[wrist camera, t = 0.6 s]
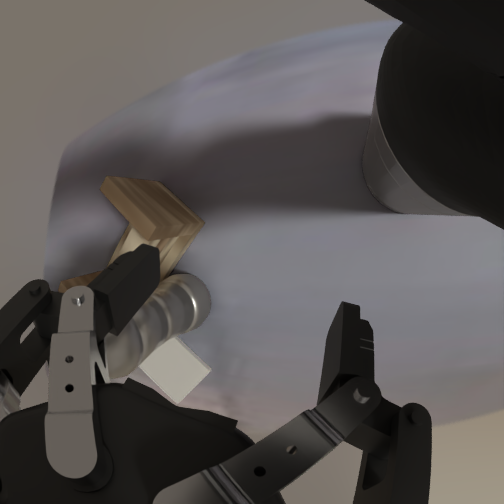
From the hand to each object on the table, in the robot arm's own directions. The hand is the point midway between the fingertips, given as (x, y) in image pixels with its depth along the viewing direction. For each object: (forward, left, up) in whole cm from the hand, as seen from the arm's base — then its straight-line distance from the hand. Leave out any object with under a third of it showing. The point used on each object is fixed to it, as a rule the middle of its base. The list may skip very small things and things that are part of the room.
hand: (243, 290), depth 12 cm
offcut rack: (+13, -14, -19) cm, 27 cm away
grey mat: (+24, -4, -19) cm, 31 cm away
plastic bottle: (+13, -6, -19) cm, 24 cm away
